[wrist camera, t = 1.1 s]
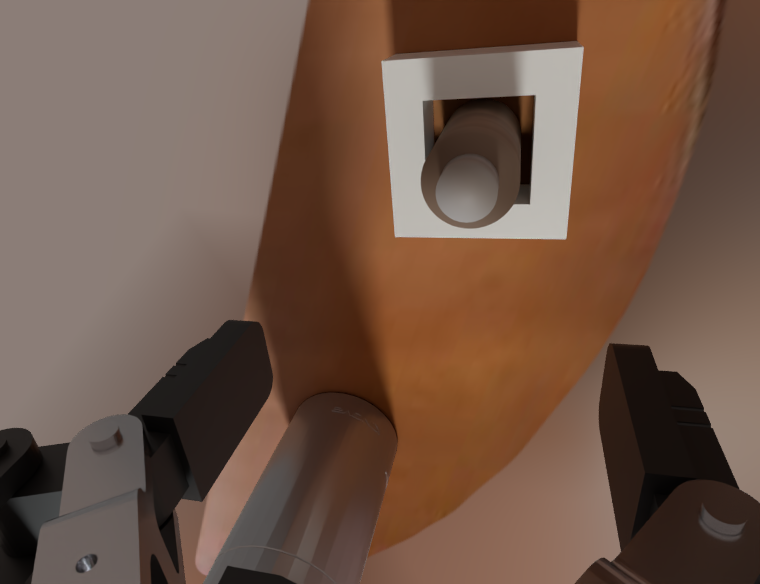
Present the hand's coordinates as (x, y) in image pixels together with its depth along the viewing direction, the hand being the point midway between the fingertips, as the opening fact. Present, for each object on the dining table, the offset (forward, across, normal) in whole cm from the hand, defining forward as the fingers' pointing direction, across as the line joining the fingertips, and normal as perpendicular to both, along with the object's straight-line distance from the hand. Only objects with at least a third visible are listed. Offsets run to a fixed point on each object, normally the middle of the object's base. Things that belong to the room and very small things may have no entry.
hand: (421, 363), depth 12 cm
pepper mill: (+22, 0, 0) cm, 22 cm away
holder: (+22, 0, 0) cm, 22 cm away
